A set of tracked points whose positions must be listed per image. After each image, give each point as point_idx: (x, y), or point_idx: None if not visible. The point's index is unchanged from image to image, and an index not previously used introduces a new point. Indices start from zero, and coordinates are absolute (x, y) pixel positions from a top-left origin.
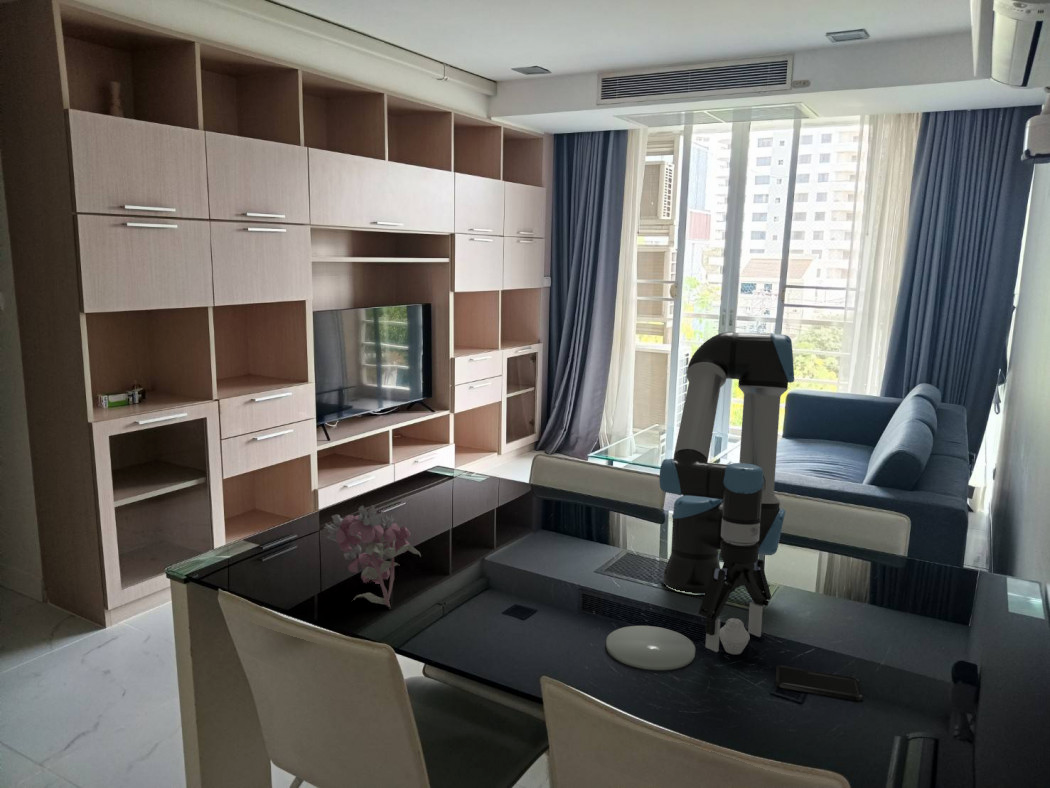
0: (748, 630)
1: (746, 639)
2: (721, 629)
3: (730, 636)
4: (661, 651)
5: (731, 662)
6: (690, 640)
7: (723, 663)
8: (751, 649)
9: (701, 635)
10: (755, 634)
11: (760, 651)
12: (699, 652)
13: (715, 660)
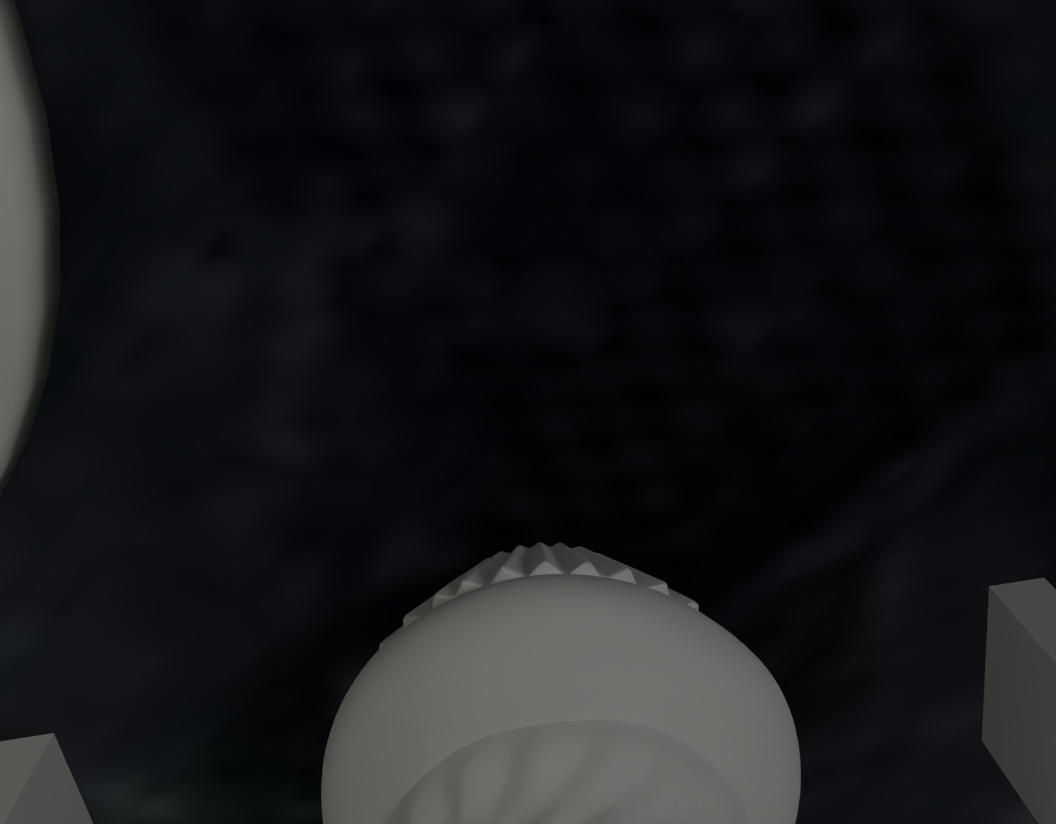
0: (1003, 615)
1: None
2: (393, 742)
3: None
4: None
5: (317, 805)
6: (17, 327)
7: (211, 793)
8: (787, 669)
9: (479, 50)
10: (989, 709)
11: (836, 737)
12: (86, 497)
13: (164, 717)
